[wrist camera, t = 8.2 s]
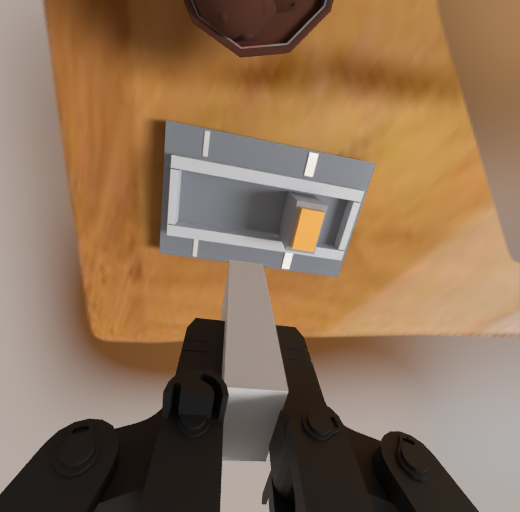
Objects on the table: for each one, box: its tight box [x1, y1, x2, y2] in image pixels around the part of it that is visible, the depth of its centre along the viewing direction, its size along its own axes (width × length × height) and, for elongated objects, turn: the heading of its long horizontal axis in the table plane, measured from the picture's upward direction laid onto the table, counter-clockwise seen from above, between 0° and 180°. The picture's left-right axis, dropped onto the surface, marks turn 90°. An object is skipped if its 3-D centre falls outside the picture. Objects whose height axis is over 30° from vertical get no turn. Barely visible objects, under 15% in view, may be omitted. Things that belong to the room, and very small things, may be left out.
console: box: [159, 120, 376, 277], centre depth 31 cm, size 14×22×4 cm, turn 79°
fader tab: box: [278, 191, 328, 254], centre depth 28 cm, size 5×3×6 cm, turn 169°
